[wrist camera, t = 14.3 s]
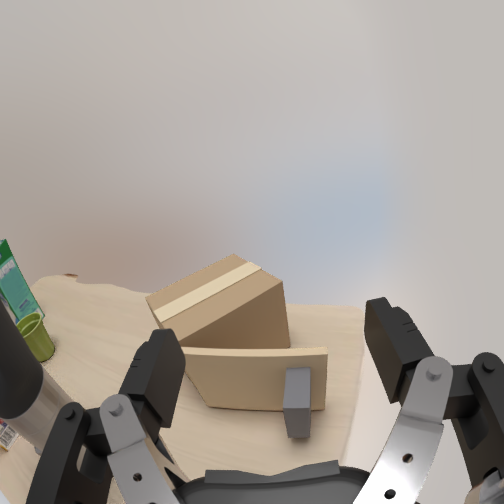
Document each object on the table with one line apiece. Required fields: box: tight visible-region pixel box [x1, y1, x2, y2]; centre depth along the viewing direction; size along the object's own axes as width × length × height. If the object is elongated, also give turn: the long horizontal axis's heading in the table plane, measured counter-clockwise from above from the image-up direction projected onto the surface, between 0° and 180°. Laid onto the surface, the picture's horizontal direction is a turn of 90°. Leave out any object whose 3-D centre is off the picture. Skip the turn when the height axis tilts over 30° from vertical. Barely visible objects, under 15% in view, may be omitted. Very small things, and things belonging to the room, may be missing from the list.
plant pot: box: [16, 312, 55, 362], centre depth 45 cm, size 9×9×9 cm
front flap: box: [181, 347, 328, 438], centre depth 28 cm, size 16×6×12 cm, turn 82°
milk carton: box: [0, 239, 45, 325], centre depth 51 cm, size 9×9×25 cm
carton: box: [145, 254, 290, 387], centre depth 40 cm, size 16×12×13 cm
